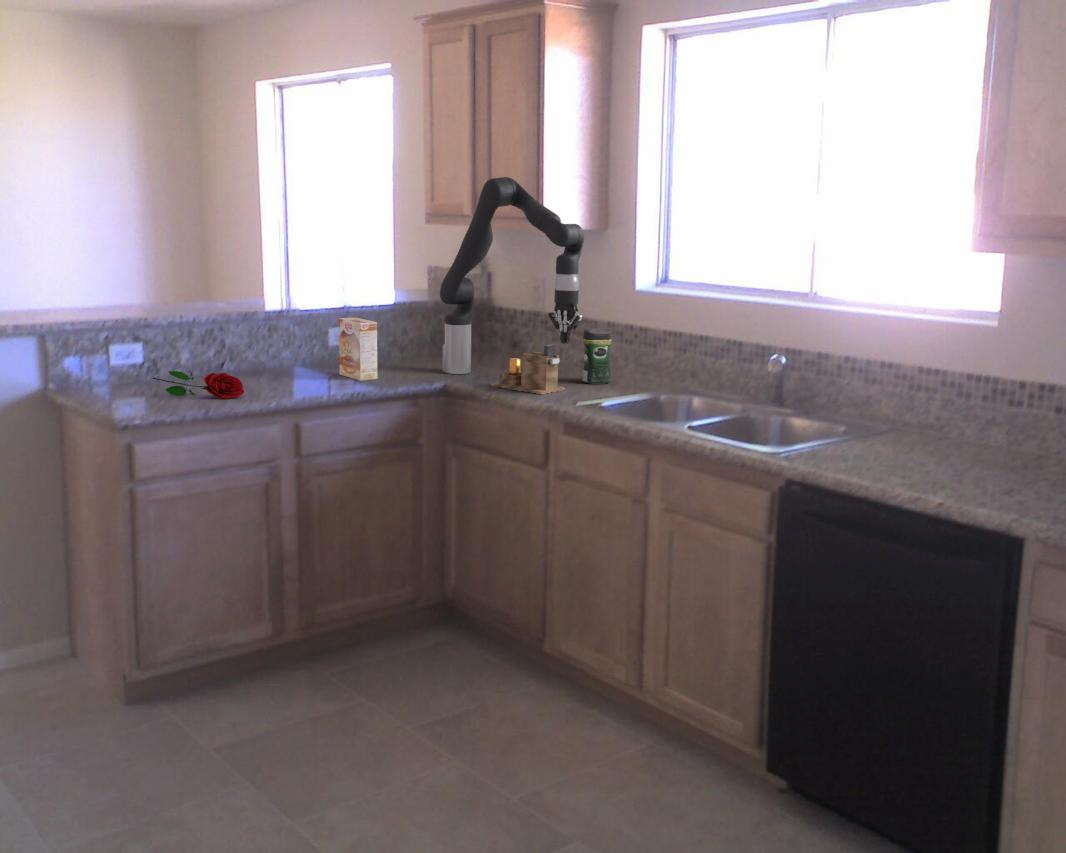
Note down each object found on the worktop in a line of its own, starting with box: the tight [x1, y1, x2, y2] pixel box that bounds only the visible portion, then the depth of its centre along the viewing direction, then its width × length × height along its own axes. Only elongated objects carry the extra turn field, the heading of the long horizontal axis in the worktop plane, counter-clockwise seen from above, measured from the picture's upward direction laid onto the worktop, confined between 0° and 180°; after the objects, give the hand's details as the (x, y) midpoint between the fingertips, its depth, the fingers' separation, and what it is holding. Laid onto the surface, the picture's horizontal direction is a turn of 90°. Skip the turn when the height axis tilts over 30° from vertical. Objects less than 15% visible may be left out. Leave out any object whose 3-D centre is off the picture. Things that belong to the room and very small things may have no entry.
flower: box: [151, 368, 245, 400], centre depth 344 cm, size 9×9×30 cm
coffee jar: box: [581, 327, 612, 385], centre depth 383 cm, size 10×8×19 cm
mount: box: [490, 351, 566, 395], centre depth 370 cm, size 22×12×12 cm, turn 50°
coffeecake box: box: [338, 317, 378, 381], centre depth 383 cm, size 15×7×20 cm, turn 37°
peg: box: [508, 357, 522, 376], centre depth 374 cm, size 4×4×8 cm
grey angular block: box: [533, 344, 561, 364], centre depth 365 cm, size 12×3×6 cm, turn 50°
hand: (565, 343), depth 358 cm, fingers closed
